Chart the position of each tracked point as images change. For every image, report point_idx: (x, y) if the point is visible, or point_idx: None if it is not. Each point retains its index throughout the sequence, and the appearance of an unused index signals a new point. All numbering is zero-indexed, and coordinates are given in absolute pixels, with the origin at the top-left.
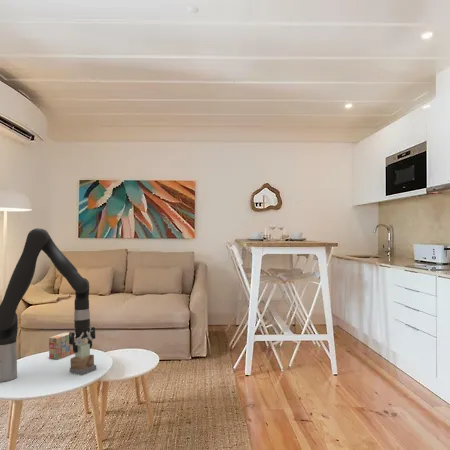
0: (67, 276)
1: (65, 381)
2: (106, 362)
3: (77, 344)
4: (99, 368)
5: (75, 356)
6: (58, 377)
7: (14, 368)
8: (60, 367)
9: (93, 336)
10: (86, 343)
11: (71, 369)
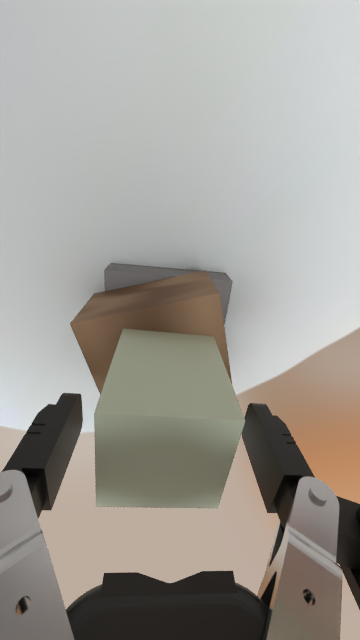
0: None
1: (4, 354)
2: (335, 328)
3: (138, 418)
4: (233, 364)
5: (121, 336)
6: (13, 268)
7: None
8: (163, 75)
9: (350, 587)
10: (225, 472)
11: (106, 287)
